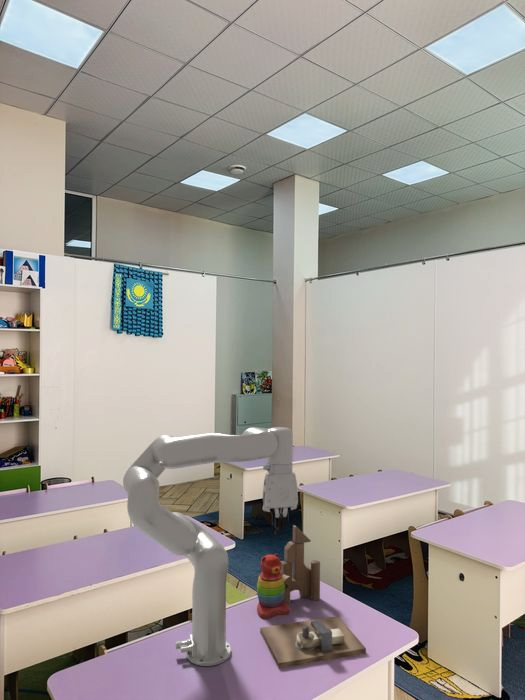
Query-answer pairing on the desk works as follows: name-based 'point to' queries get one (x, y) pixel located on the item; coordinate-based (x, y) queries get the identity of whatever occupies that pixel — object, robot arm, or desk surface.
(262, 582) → the stacking bear
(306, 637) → the link
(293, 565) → the wooden toy
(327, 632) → the keeper
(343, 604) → the desk surface
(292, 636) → the base board
